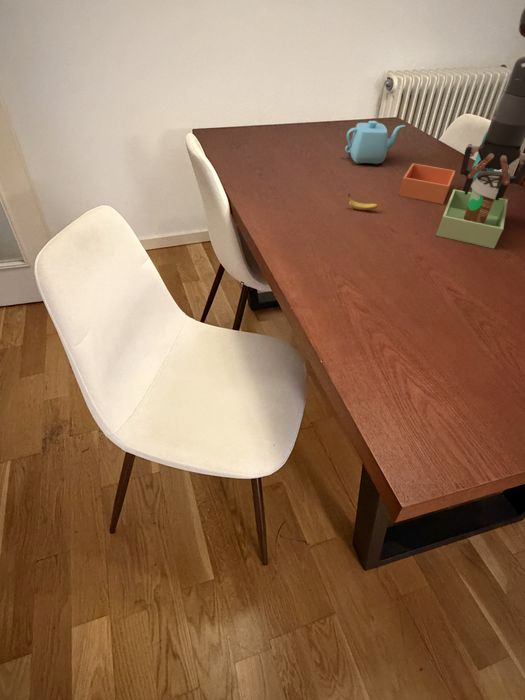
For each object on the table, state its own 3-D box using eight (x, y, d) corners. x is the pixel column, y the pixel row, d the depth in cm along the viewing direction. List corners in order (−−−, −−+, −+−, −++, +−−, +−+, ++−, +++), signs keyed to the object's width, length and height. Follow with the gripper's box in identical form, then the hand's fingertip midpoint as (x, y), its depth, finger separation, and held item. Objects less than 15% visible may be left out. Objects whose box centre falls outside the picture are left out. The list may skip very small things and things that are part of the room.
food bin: (499, 218, 105) (508, 199, 101) (494, 248, 94) (503, 229, 90) (447, 207, 109) (453, 189, 105) (436, 235, 98) (442, 216, 94)
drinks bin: (449, 188, 118) (455, 170, 114) (443, 204, 110) (449, 186, 106) (408, 180, 122) (412, 163, 118) (398, 195, 114) (403, 177, 110)
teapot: (401, 167, 129) (411, 128, 120) (345, 166, 129) (351, 127, 121) (393, 153, 137) (402, 116, 129) (341, 152, 138) (346, 115, 130)
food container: (464, 205, 105) (479, 166, 98) (489, 211, 102) (506, 171, 95) (453, 225, 97) (469, 184, 90) (480, 231, 95) (498, 190, 88)
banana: (345, 209, 107) (347, 195, 104) (345, 206, 108) (348, 192, 106) (376, 213, 106) (379, 198, 103) (376, 210, 107) (379, 195, 104)
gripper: (550, 118, 84) (514, 196, 96) (478, 109, 89) (452, 184, 100) (550, 128, 79) (512, 209, 91) (474, 117, 84) (447, 196, 96)
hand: (481, 195), depth 96 cm, fingers closed on food container, 6 cm apart
